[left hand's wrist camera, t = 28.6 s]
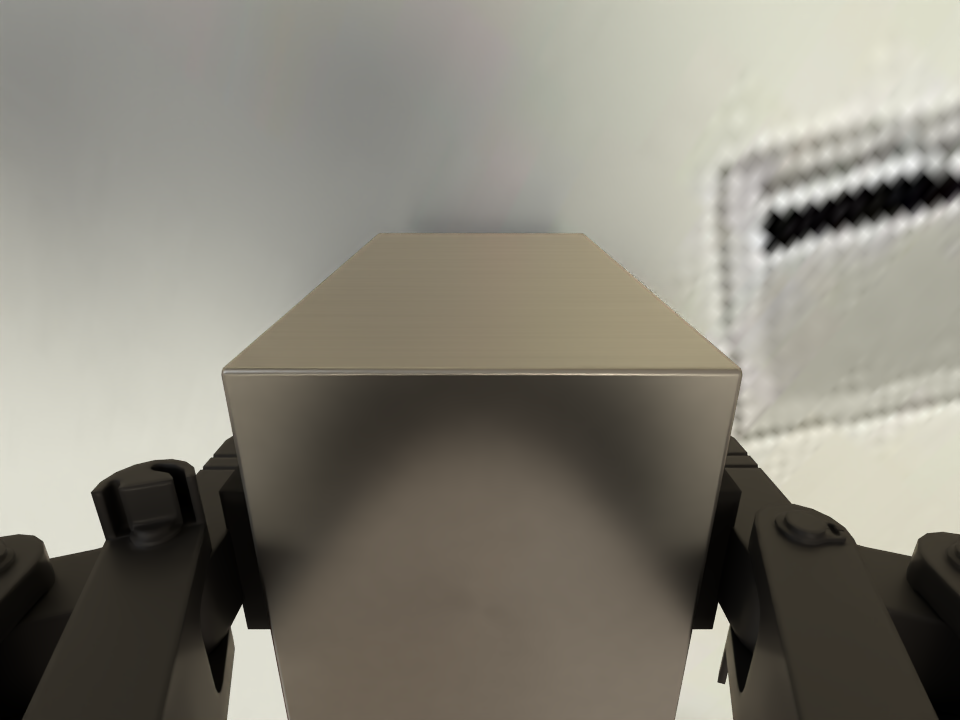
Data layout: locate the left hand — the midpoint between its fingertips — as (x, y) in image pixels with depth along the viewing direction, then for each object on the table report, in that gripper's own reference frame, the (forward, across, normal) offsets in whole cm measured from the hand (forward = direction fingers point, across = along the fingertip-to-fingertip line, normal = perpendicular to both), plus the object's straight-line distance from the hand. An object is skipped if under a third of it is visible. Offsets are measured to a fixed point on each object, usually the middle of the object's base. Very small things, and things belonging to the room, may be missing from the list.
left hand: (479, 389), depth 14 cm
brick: (+3, 0, 0) cm, 3 cm away
